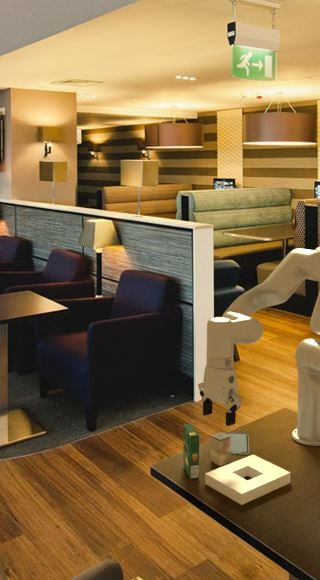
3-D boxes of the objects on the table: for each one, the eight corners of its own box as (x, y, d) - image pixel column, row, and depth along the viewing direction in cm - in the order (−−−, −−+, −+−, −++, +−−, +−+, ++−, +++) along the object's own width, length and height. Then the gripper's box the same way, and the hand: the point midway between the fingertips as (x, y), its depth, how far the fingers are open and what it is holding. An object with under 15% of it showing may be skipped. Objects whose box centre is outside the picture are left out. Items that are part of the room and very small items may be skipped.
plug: (221, 457, 184) (221, 431, 182) (230, 462, 180) (230, 436, 179) (211, 461, 181) (210, 435, 180) (220, 466, 178) (220, 440, 177)
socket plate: (253, 464, 179) (253, 454, 178) (290, 482, 168) (290, 472, 167) (205, 483, 168) (205, 473, 168) (241, 504, 157) (241, 494, 157)
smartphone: (248, 433, 199) (249, 453, 185) (248, 435, 199) (249, 455, 185) (225, 432, 200) (224, 452, 186) (225, 434, 200) (224, 455, 186)
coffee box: (200, 479, 171) (199, 434, 168) (190, 480, 170) (189, 435, 168) (193, 466, 178) (192, 422, 176) (183, 467, 178) (182, 423, 175)
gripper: (251, 366, 170) (249, 426, 173) (209, 352, 184) (208, 407, 187) (231, 371, 166) (229, 432, 169) (189, 356, 180) (189, 413, 183)
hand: (218, 419), depth 178 cm, fingers open, 9 cm apart
